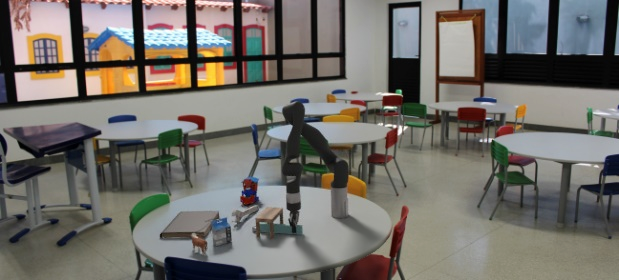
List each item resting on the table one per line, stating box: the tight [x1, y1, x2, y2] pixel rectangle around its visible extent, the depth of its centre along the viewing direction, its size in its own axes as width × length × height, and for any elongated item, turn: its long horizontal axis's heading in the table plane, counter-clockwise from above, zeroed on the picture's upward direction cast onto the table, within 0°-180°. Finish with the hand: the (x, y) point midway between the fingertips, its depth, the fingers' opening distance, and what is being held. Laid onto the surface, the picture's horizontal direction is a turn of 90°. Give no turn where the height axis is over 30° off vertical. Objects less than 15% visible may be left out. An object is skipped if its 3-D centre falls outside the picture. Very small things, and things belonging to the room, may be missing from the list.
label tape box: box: [211, 217, 233, 247], centre depth 266 cm, size 9×4×12 cm, turn 126°
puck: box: [251, 225, 256, 233], centre depth 283 cm, size 4×4×2 cm
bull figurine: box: [189, 233, 208, 256], centre depth 257 cm, size 4×13×8 cm, turn 41°
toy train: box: [239, 176, 260, 205], centre depth 330 cm, size 10×16×15 cm, turn 172°
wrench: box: [231, 204, 260, 224], centre depth 304 cm, size 8×2×30 cm
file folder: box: [159, 210, 220, 239], centre depth 292 cm, size 33×4×24 cm
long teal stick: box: [260, 222, 304, 236], centre depth 279 cm, size 23×2×4 cm, turn 76°
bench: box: [255, 206, 284, 240], centre depth 280 cm, size 9×18×10 cm, turn 166°
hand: (294, 232), depth 277 cm, fingers closed
